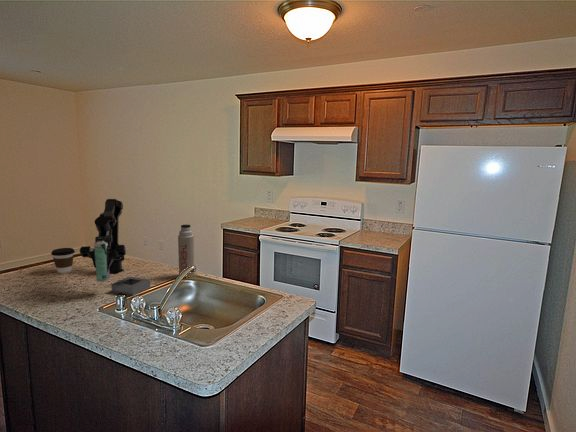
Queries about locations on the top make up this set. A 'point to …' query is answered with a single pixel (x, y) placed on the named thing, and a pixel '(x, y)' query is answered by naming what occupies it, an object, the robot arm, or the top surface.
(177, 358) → the top surface
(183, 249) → the thermos bottle
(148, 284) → the collar
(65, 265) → the coffee cup
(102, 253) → the spray can
